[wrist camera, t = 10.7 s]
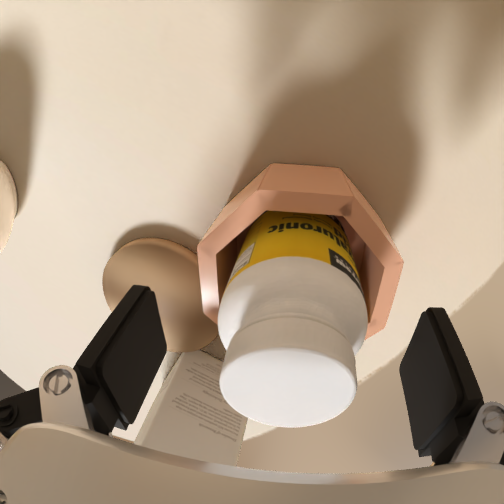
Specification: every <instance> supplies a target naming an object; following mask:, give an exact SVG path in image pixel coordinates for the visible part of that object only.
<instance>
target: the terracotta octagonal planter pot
mask: <svg viewBox="0 0 504 504" xmlns="http://www.w3.org/2000/svg"><path fill="white" fill-rule="evenodd" d="M266 210H269V211H284V212H299V213H312V214H325V215H335V216H336V217H337V218H338V219H339V221H340V222H341V224H342V226H343V228H344V230H345V232H346V235H347V238H348V240H349V244H350V248H351V251H352V254H353V258H354V261H355V265H356V269H357V272H358V276H359V280H360V283H361V287H362V291H363V294H364V298H365V303H366V308H367V316H368V326H367V333H366V336H365V340H366V339H367V338H369V337H371V336H372V335H374V334H376V333H377V332H379V331H381V330H382V329H384V327H385V325H386V322H387V319H388V316H389V313H390V310H391V306H392V303H393V300H394V296H395V293H396V289H397V286H398V282H399V279H400V275H401V271H402V267H403V263H404V262H403V259H402V257H401V255H400V253H399V252H398V250H397V248H396V246H395V244H394V242H393V240H392V238H391V237H390V235H389V233H388V231H387V229H386V228H385V226H384V224H383V222H382V221H381V219H380V217H379V216H378V214H377V213H376V212H375V211H374V209H373V208H372V207H371V205H370V204H369V203H368V202H367V200H366V199H365V198H364V196H363V195H362V194H361V193H360V192H359V190H358V189H357V188H356V187H355V185H354V184H353V183H352V182H351V181H350V179H349V178H348V177H347V176H346V175H345V173H344V172H343V171H342V170H341V169H340V168H335V167H324V166H311V165H296V164H279V163H272V164H270V165H269V166H268V167H267V168H265V169H264V170H263V171H262V172H261V173H260V174H259V175H258V176H257V177H256V178H254V179H253V180H252V181H251V182H250V183H249V184H248V185H247V186H246V187H245V188H244V189H243V190H242V191H240V192H239V193H238V194H237V195H236V196H235V197H234V198H233V199H232V200H231V201H230V202H229V203H228V204H227V205H226V206H225V207H224V208H223V210H222V211H221V213H220V214H219V215H218V217H217V218H216V220H215V221H214V222H213V224H212V225H211V227H210V228H209V229H208V231H207V232H206V234H205V235H204V237H203V238H202V239H201V241H200V242H199V244H198V245H197V253H198V264H199V274H200V284H201V294H202V303H203V312H204V314H205V315H206V316H207V317H209V318H210V319H211V320H212V321H213V322H215V323H216V324H217V325H218V312H219V308H220V304H221V300H222V297H223V294H224V291H225V289H226V286H227V284H228V281H229V279H230V276H231V273H232V271H233V268H234V266H235V263H236V261H237V258H238V256H239V253H240V250H241V248H242V245H243V243H244V241H245V238H246V235H247V233H248V231H249V228H250V227H251V225H252V223H253V222H254V220H256V219H257V218H258V217H259V216H260V215H261V214H263V213H264V212H265V211H266Z"/></svg>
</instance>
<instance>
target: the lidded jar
mask: <svg viewBox="0 0 504 504" xmlns="http://www.w3.org/2000/svg"><path fill="white" fill-rule="evenodd" d="M17 207H18V199H17V191H16V186H15V183H14V180H13V177H12V175H11V173H10V171H9V169H8V168H7V166H6V165H5V164H4V163H3V162H2V161H1V160H0V254H1V252H2V251H3V249H4V247H5V246H6V244H7V242H8V239H9V237H10V234H11V231H12V226H13V222H14V218H15V216H16V213H17Z"/></svg>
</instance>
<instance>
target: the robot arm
mask: <svg viewBox="0 0 504 504" xmlns="http://www.w3.org/2000/svg"><path fill="white" fill-rule="evenodd" d="M166 351H167V343H166V339H165V335H164V331H163V327H162V323H161V318H160V314H159V309H158V305H157V300H156V296H155V292H154V291H151V289H150V287H148V286H142V285H133V286H132V287H131V288H130V289H129V291H128V292H127V293H126V294H125V296H124V297H123V298H122V300H121V301H120V302H119V304H118V305H117V306H116V308H115V309H114V310H113V312H112V313H111V314H110V316H109V317H108V319H107V320H106V321H105V323H104V324H103V325H102V327H101V328H100V329H99V331H98V332H97V334H96V335H95V336H94V338H93V339H92V341H91V342H90V344H89V345H88V346H87V348H86V349H85V351H84V352H83V354H82V355H81V356H80V358H79V359H78V361H77V362H76V365H75V366H74V368H73V369H72V368H71V367H68V366H65V365H59V366H55V367H52V368H50V369H49V370H47V371H46V372H45V373H44V374H43V375H42V377H41V379H40V381H39V387H38V388H35V389H32V390H30V391H27V392H24V393H21V394H18V395H15V396H12V397H8V398H6V399H3V400H1V401H0V504H504V406H503V405H502V404H500V403H497V402H488V403H485V404H484V401H483V397H482V393H481V391H480V388H479V386H478V383H477V380H476V378H475V375H474V373H473V370H472V368H471V365H470V363H469V361H468V358H467V356H466V354H465V351H464V349H463V347H462V344H461V342H460V340H459V338H458V336H457V334H456V331H455V330H454V327H453V325H452V323H451V321H450V319H449V317H448V315H447V313H446V311H445V309H444V308H433V307H430V308H428V309H427V310H426V312H425V311H424V312H423V313H422V314H421V317H420V319H419V322H418V324H417V327H416V329H415V332H414V334H413V336H412V339H411V341H410V344H409V346H408V348H407V350H406V353H405V355H404V357H403V359H402V362H401V364H400V376H401V381H402V385H403V390H404V395H405V400H406V405H407V410H408V415H409V420H410V426H411V432H412V438H413V445H414V448H415V449H416V450H418V453H419V457H424V456H430V455H431V456H432V461H433V462H432V464H431V465H430V467H422V468H415V469H406V470H396V471H387V472H386V471H385V472H372V473H350V474H349V473H348V474H315V473H293V472H292V473H291V472H277V471H267V470H258V469H249V468H242V467H235V466H228V465H222V464H216V463H211V462H205V461H200V460H195V459H190V458H186V457H181V456H177V455H173V454H169V453H165V452H161V451H157V450H154V449H150V448H147V447H143V446H139V445H136V444H132V443H129V442H126V441H122V440H120V439H116V438H113V436H112V433H111V432H112V430H113V428H114V427H117V428H120V429H123V430H127V427H128V425H129V424H133V423H134V421H135V419H136V417H137V414H138V412H139V410H140V408H141V406H142V404H143V401H144V399H145V397H146V395H147V393H148V390H149V388H150V386H151V384H152V382H153V380H154V378H155V375H156V373H157V371H158V369H159V367H160V365H161V363H162V361H163V359H164V356H165V354H166Z"/></svg>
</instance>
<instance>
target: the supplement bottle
mask: <svg viewBox="0 0 504 504" xmlns="http://www.w3.org/2000/svg"><path fill="white" fill-rule="evenodd" d="M367 326H368V316H367V308H366V303H365V298H364V294H363V291H362V287H361V283H360V280H359V276H358V272H357V269H356V265H355V261H354V258H353V254H352V251H351V248H350V244H349V240H348V238H347V235H346V232H345V230H344V228H343V226H342V224H341V222H340V221H339V219H338V218H337V217H336V216H335V215H325V214H312V213H299V212H284V211H269V210H266V211H265V212H264V213H263V214H261V215H260V216H259V217H258V218H257V219H256V220H254V222H253V223H252V225H251V227H250V228H249V231H248V233H247V235H246V238H245V241H244V243H243V245H242V248H241V250H240V253H239V256H238V258H237V261H236V263H235V266H234V268H233V271H232V273H231V276H230V279H229V281H228V284H227V286H226V289H225V291H224V294H223V297H222V300H221V304H220V308H219V312H218V331H219V335H220V338H221V341H222V343H223V345H224V347H225V349H226V354H225V358H224V362H223V366H222V370H221V373H220V380H219V384H220V390H221V392H222V395H223V397H224V399H225V400H226V401H227V403H228V404H229V405H230V406H231V407H232V408H233V409H235V410H236V411H237V412H239V413H240V414H242V415H244V416H245V417H247V418H249V419H252V420H254V421H257V422H260V423H263V424H267V425H271V426H279V427H304V426H310V425H315V424H319V423H322V422H325V421H328V420H330V419H332V418H334V417H336V416H337V415H339V414H340V413H342V412H343V411H344V410H345V409H346V408H347V407H348V406H349V405H350V404H351V402H352V401H353V399H354V397H355V394H356V390H357V376H356V367H355V364H356V362H355V355H356V354H357V353H358V351H359V350H360V348H361V346H362V344H363V342H364V340H365V336H366V333H367Z"/></svg>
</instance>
